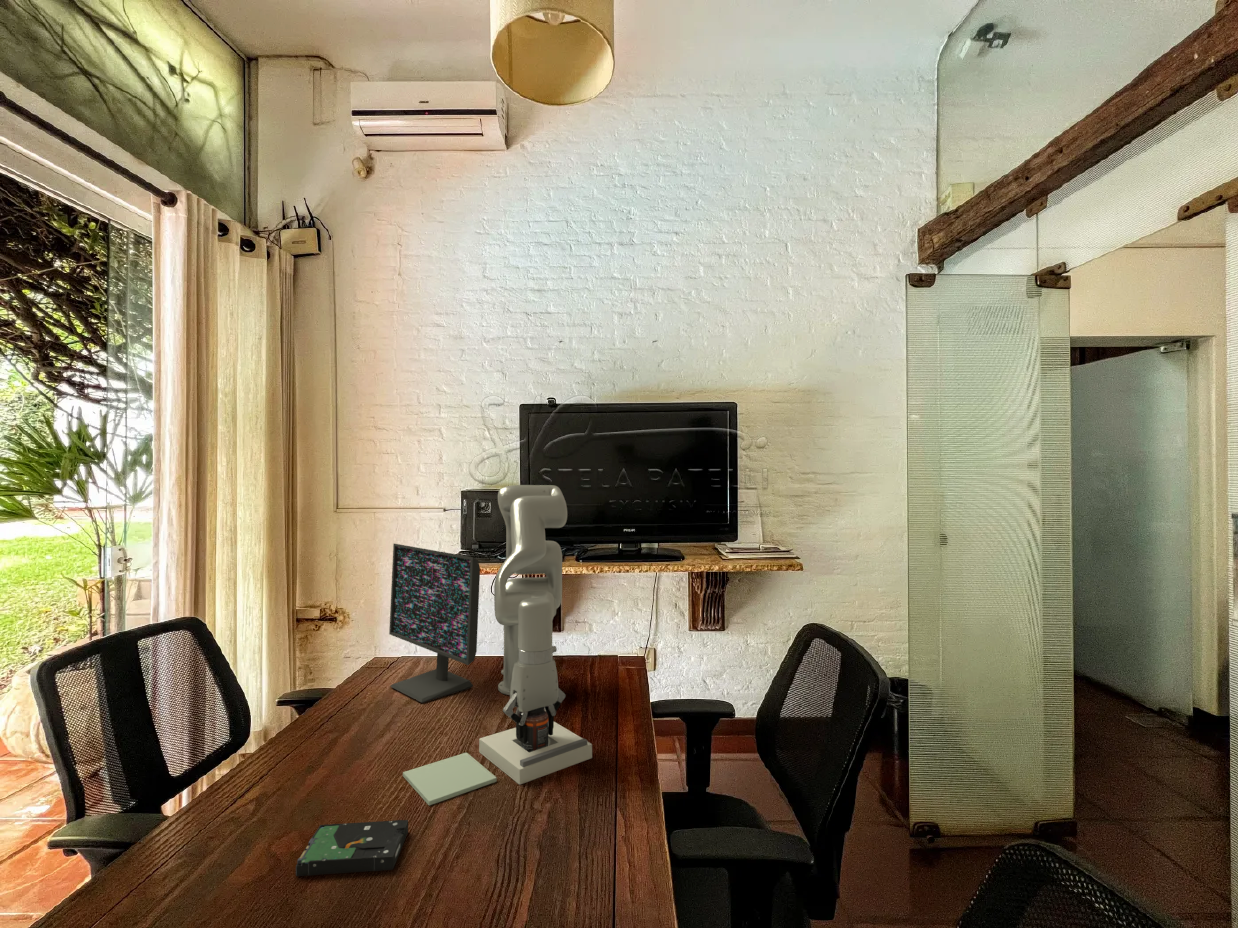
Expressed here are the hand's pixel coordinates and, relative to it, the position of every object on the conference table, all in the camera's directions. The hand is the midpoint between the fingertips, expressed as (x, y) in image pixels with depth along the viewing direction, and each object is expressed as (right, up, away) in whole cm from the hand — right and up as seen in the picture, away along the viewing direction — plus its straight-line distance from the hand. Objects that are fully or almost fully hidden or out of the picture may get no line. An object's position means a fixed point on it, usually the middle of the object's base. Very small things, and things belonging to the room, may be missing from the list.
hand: (535, 736), depth 134 cm
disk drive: (-25, -4, -34) cm, 43 cm away
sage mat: (-16, -4, -10) cm, 20 cm away
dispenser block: (0, -4, 0) cm, 4 cm away
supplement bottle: (0, -4, 0) cm, 4 cm away
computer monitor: (-35, -5, +41) cm, 54 cm away
